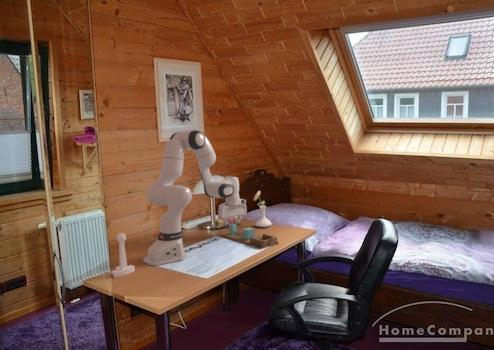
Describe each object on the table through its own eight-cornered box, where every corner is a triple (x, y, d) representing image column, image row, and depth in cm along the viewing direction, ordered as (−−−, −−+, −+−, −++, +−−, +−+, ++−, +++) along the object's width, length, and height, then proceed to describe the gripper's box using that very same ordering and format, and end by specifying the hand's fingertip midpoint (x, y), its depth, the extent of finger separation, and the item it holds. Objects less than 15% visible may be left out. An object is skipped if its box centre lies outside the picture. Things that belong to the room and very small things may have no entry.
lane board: (261, 249, 233) (260, 242, 233) (221, 236, 260) (221, 230, 260) (278, 243, 242) (278, 237, 242) (238, 232, 269) (238, 226, 269)
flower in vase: (263, 223, 290) (262, 188, 287) (275, 226, 282) (274, 189, 278) (249, 227, 281) (248, 190, 278) (261, 230, 273) (260, 192, 270)
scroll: (220, 228, 273) (244, 223, 286) (217, 218, 275) (241, 213, 287) (214, 231, 279) (238, 226, 291) (211, 221, 281) (235, 216, 293)
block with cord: (248, 240, 248) (248, 230, 247) (228, 234, 262) (228, 224, 261) (254, 238, 251) (254, 228, 250) (234, 232, 265) (234, 223, 264)
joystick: (116, 277, 196) (113, 236, 194) (107, 274, 201) (104, 234, 199) (136, 271, 204) (133, 231, 202) (127, 267, 209) (125, 229, 207)
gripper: (222, 204, 250) (222, 226, 251) (247, 200, 263) (248, 221, 265) (215, 202, 255) (216, 225, 256) (241, 199, 268) (241, 220, 269)
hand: (232, 223), depth 260 cm, fingers open, 8 cm apart
